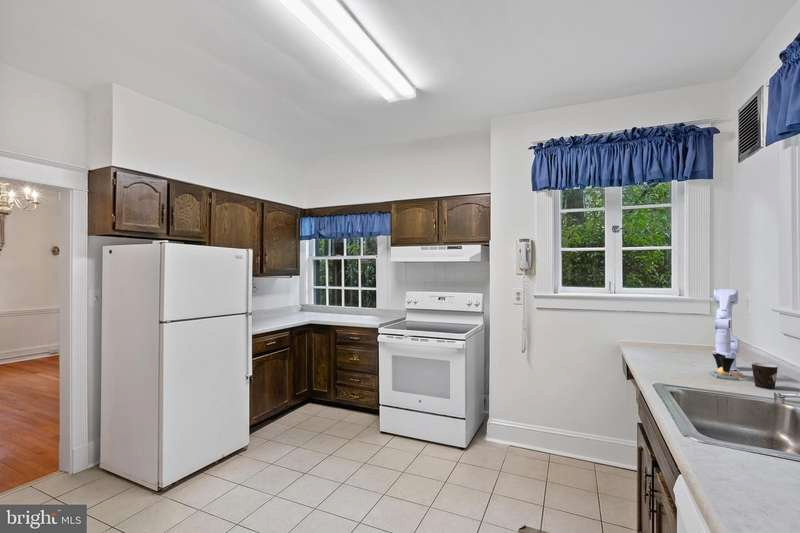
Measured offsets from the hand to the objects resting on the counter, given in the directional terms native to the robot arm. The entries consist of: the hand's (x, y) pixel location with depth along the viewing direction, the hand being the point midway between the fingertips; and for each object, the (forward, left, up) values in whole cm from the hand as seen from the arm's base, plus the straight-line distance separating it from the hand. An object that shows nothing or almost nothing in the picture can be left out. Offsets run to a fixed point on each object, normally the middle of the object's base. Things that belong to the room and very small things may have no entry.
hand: (723, 370), depth 189 cm
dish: (-8, +6, -3) cm, 11 cm away
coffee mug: (+15, +9, -4) cm, 18 cm away
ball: (0, 0, -1) cm, 1 cm away
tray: (0, 0, -3) cm, 3 cm away
